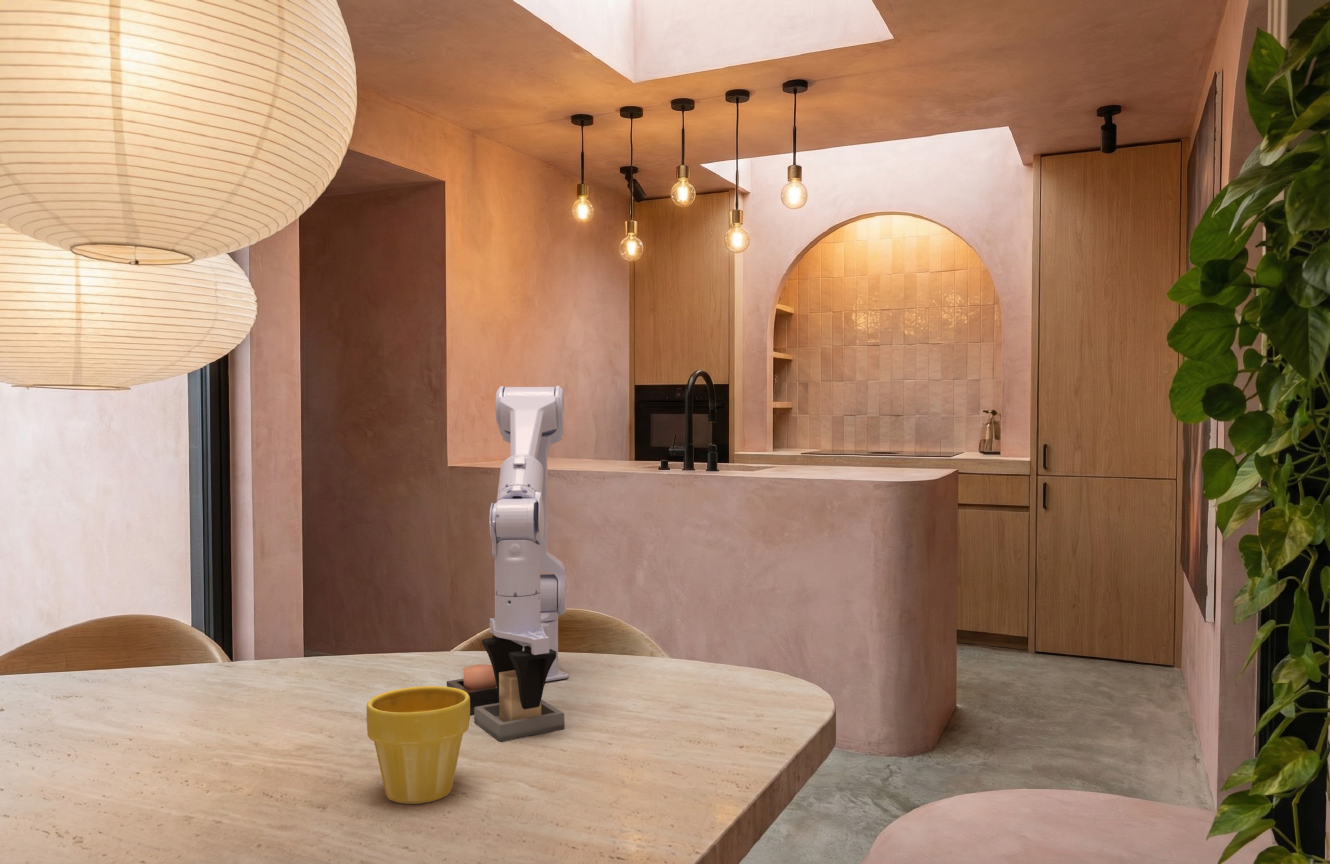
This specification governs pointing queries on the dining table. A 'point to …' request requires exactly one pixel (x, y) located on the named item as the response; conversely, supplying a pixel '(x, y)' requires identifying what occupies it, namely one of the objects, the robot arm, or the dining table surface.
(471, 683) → the button
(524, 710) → the block
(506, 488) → the robot arm
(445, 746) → the plant pot
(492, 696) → the button housing
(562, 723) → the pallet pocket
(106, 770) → the dining table surface
